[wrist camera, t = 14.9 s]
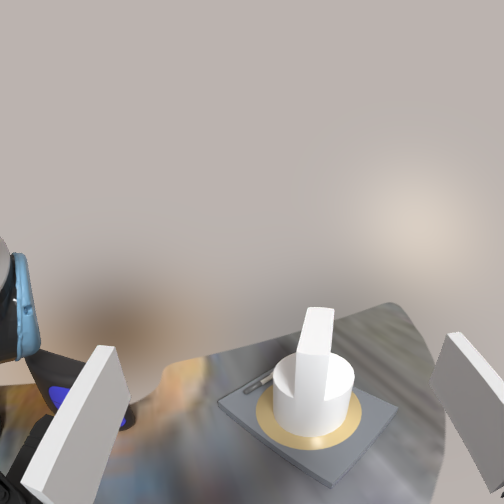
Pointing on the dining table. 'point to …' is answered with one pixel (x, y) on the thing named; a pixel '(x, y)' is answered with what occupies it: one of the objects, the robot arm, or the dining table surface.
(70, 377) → the black two-tone rounded device
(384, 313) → the dining table surface
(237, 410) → the plate
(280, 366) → the base with upright slab
